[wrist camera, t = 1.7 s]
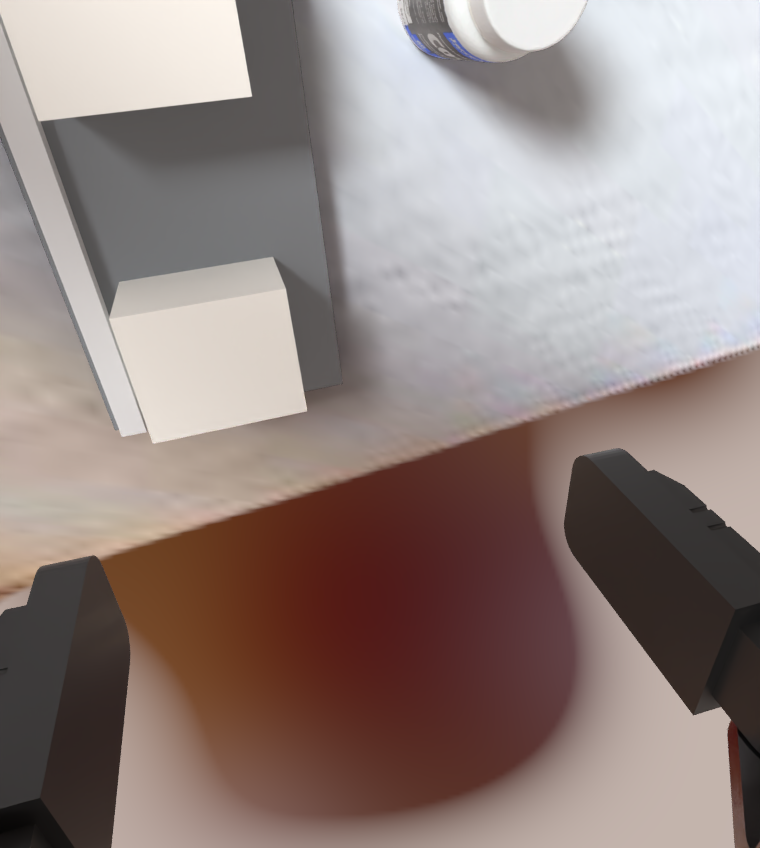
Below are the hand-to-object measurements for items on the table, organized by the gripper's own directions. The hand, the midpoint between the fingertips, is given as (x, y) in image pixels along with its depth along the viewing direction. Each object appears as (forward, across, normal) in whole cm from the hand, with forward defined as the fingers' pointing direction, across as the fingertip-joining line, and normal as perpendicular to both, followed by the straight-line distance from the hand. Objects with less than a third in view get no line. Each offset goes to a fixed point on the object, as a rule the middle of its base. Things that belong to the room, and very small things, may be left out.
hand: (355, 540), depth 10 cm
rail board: (+23, +3, -2) cm, 23 cm away
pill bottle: (+23, -10, -8) cm, 26 cm away
